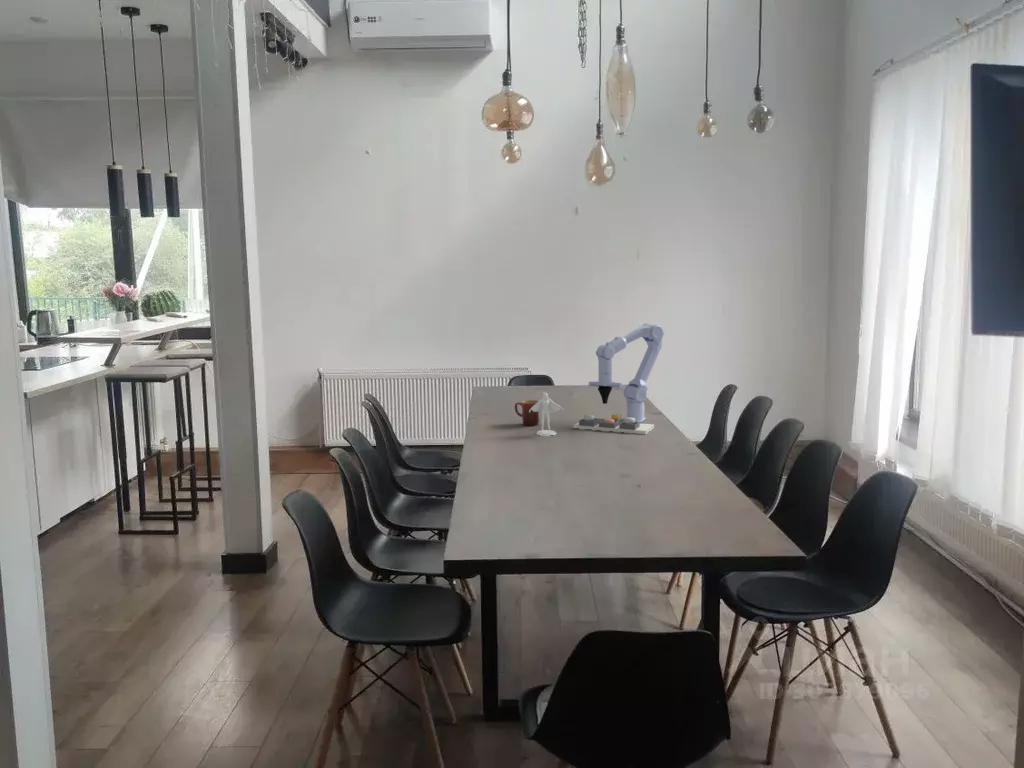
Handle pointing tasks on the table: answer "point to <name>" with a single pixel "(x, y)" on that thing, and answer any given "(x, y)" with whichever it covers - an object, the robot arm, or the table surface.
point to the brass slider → (616, 416)
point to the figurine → (546, 412)
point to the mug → (527, 417)
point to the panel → (614, 426)
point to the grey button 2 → (629, 420)
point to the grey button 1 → (589, 417)
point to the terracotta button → (609, 421)
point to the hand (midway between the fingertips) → (605, 403)
